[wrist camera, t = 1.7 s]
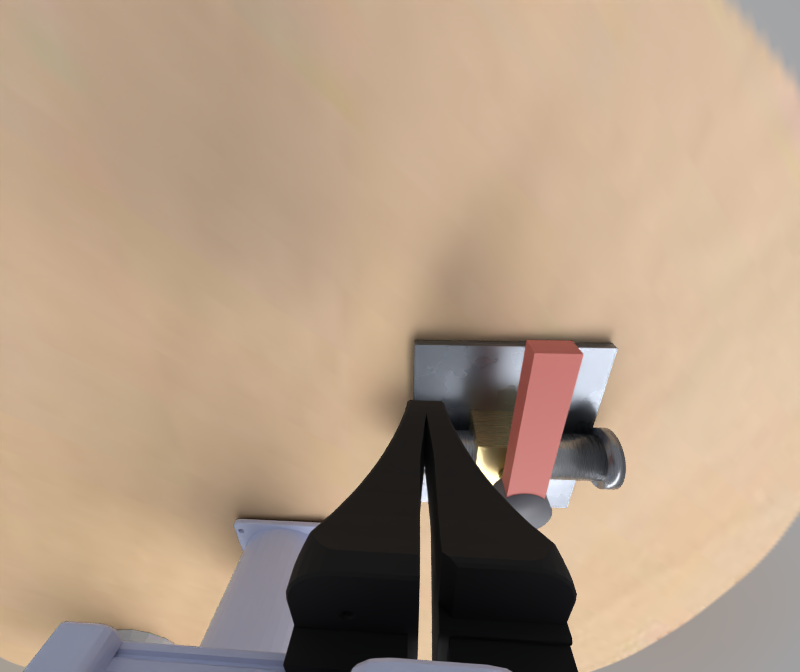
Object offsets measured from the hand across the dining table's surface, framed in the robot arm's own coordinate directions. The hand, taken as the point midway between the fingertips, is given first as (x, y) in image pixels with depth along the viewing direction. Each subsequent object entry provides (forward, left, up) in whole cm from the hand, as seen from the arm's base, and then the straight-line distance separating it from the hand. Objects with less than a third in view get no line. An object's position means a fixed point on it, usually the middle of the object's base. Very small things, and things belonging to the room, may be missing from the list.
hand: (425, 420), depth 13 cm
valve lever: (-3, -5, -2) cm, 6 cm away
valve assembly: (-7, -5, -7) cm, 11 cm away
